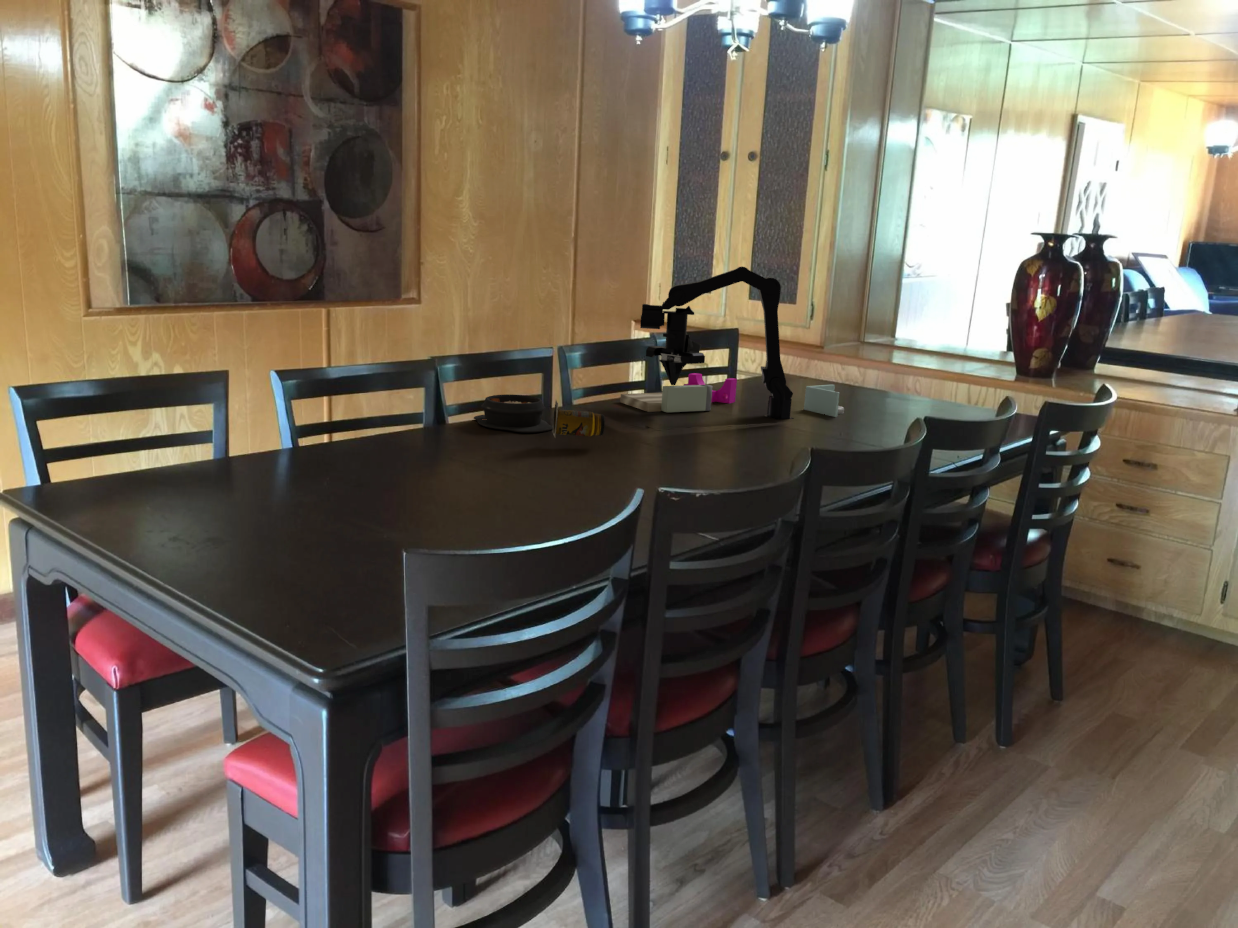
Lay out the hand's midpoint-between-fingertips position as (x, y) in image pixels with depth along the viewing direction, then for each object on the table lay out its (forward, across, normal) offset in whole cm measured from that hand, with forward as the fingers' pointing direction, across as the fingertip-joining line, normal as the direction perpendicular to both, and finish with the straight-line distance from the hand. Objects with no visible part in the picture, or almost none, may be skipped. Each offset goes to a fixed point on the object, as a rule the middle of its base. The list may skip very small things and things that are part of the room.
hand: (673, 385), depth 277 cm
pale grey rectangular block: (+7, -4, -9) cm, 13 cm away
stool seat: (+7, +7, -3) cm, 11 cm away
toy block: (+8, +9, -25) cm, 27 cm away
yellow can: (+3, -13, +53) cm, 54 cm away
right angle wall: (+8, -23, -45) cm, 51 cm away
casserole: (+11, +13, +46) cm, 49 cm away
